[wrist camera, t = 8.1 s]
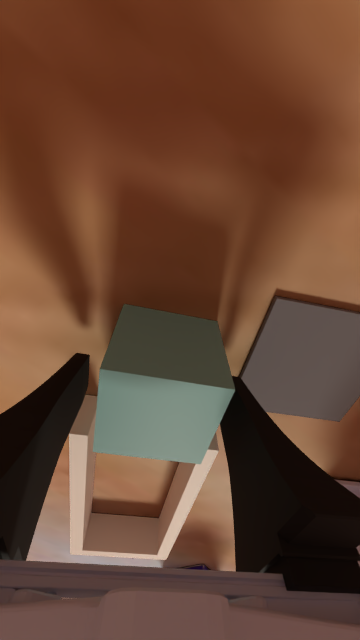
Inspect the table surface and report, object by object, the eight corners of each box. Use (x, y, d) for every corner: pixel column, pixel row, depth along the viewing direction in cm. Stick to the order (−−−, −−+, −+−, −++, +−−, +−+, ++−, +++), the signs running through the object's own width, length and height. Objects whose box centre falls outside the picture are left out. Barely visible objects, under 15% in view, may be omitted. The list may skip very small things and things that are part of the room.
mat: (412, 322, 14) (416, 325, 14) (337, 418, 18) (339, 421, 18) (275, 295, 13) (277, 298, 13) (227, 402, 17) (228, 406, 17)
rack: (212, 411, 18) (218, 450, 15) (166, 523, 26) (166, 559, 24) (84, 394, 17) (69, 433, 14) (80, 516, 25) (70, 554, 23)
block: (217, 320, 14) (235, 389, 10) (194, 386, 16) (200, 464, 12) (124, 302, 13) (99, 368, 9) (115, 374, 16) (92, 451, 12)
